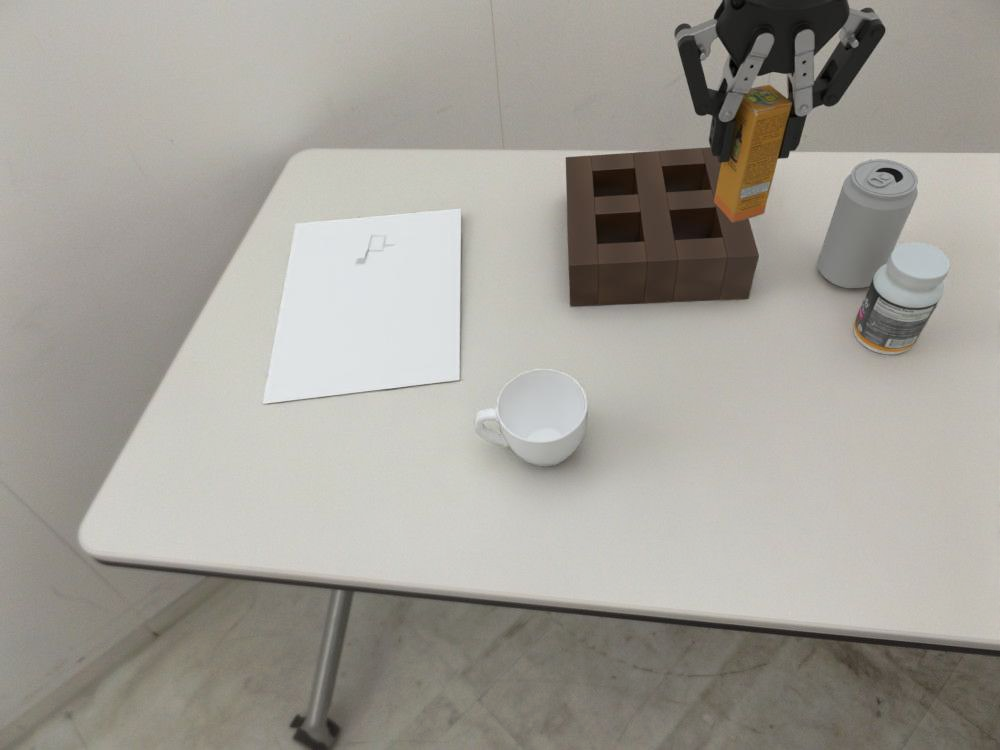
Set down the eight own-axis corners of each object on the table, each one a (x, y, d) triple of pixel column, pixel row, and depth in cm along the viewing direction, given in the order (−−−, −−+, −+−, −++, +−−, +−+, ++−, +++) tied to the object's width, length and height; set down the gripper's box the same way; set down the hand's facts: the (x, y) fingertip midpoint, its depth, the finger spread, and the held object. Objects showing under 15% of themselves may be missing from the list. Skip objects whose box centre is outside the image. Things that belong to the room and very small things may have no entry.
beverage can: (894, 273, 72) (938, 177, 62) (852, 302, 70) (892, 207, 61) (842, 243, 75) (877, 147, 66) (802, 269, 74) (832, 175, 64)
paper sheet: (482, 212, 85) (481, 206, 84) (457, 408, 68) (456, 402, 67) (300, 219, 88) (297, 212, 87) (233, 408, 71) (229, 402, 70)
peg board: (721, 189, 83) (728, 145, 79) (748, 298, 72) (759, 255, 67) (567, 198, 85) (565, 156, 81) (570, 306, 74) (568, 265, 69)
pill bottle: (862, 306, 69) (895, 229, 62) (923, 327, 67) (965, 249, 59) (843, 343, 67) (875, 267, 59) (905, 366, 64) (947, 290, 57)
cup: (591, 481, 60) (590, 440, 55) (478, 486, 61) (467, 445, 56) (585, 410, 65) (584, 365, 60) (481, 415, 66) (471, 371, 61)
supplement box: (769, 213, 57) (796, 102, 49) (731, 225, 57) (752, 114, 49) (748, 191, 59) (771, 80, 51) (711, 202, 59) (729, 92, 51)
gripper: (690, -61, 39) (664, 190, 52) (955, -87, 37) (859, 177, 51) (673, -107, 44) (653, 134, 57) (909, -133, 42) (832, 121, 56)
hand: (751, 153), depth 54 cm, fingers closed on supplement box, 4 cm apart
